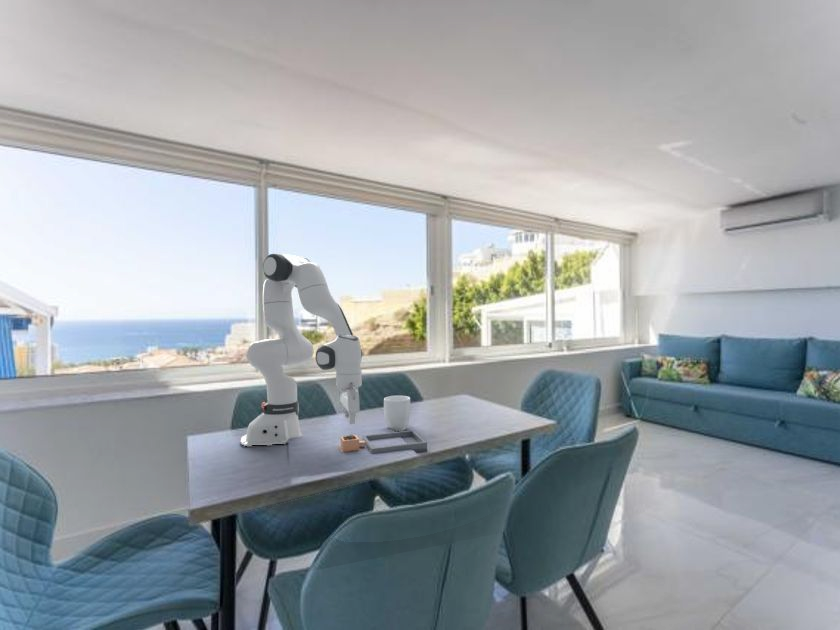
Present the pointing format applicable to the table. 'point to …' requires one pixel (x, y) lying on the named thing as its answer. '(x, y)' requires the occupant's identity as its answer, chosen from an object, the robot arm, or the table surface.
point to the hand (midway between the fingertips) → (349, 420)
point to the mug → (397, 412)
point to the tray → (408, 436)
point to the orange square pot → (349, 437)
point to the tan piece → (351, 443)
